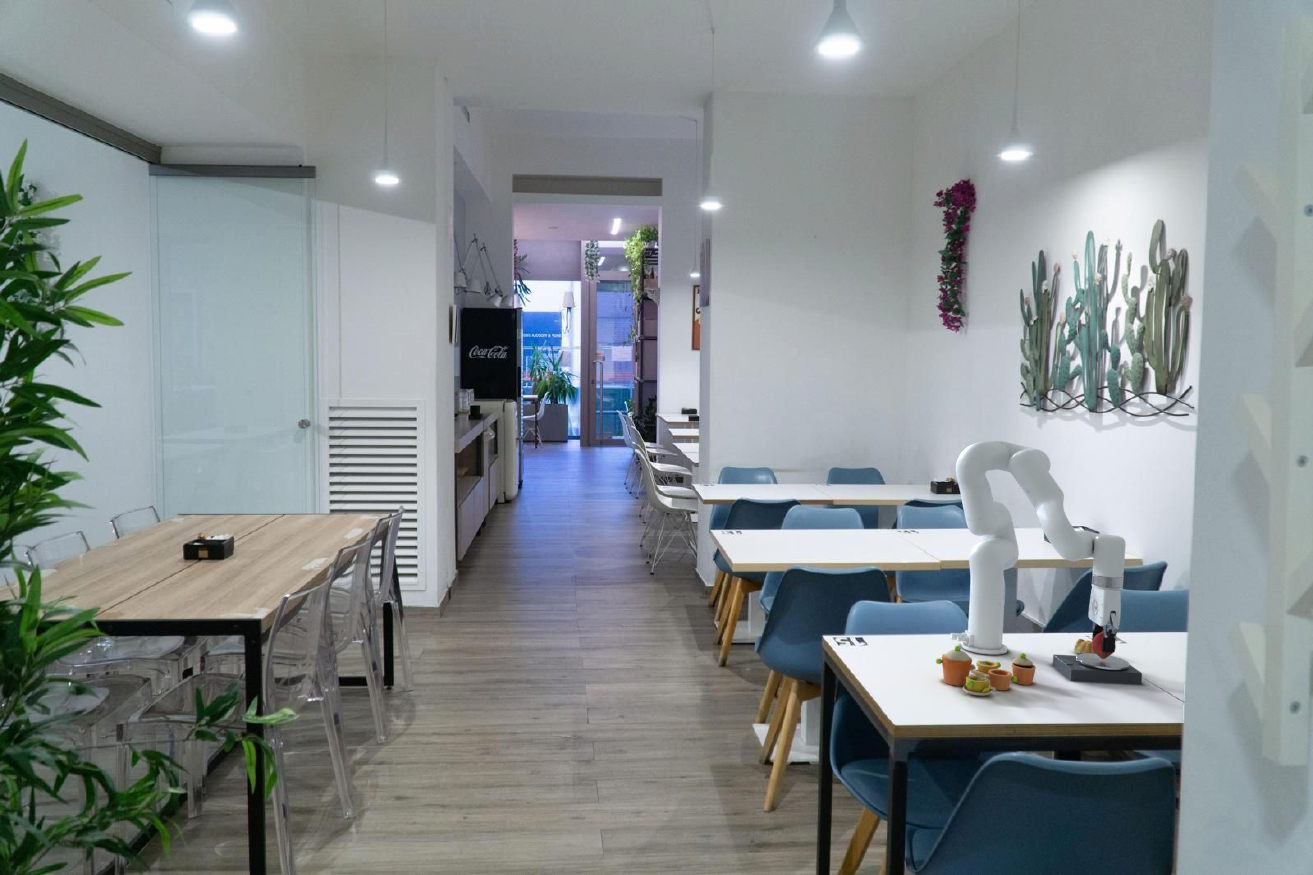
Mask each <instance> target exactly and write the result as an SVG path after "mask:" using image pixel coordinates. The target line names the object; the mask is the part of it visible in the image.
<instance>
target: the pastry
mask: <svg viewBox="0 0 1313 875" xmlns="http://www.w3.org/2000/svg"><path fill="white" fill-rule="evenodd" d="M1073 651H1074V652H1075V653H1076V654H1078V655H1079V654H1086V653H1093V654H1096V653H1095V652H1094V650H1093V648H1092V640H1088V639H1087V640H1085V639H1083V638H1078V639H1077V641H1076V642H1075V644H1074V647H1073Z"/></svg>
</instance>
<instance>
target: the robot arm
mask: <svg viewBox="0 0 1313 875" xmlns="http://www.w3.org/2000/svg"><path fill="white" fill-rule="evenodd" d="M996 470H998V471H1004V472H1008V473H1010V474H1011V475H1012V477H1013V478H1014V480H1015V481H1016V483H1017V484H1018V485H1019V487H1020V489H1022V491H1023V492H1024V494H1025V495H1026V497H1027V498H1028V500H1029V502H1030V503H1031V504H1032V506H1033V508H1034V509H1035V512H1036V517H1037V519H1038V522H1039V525H1040V527H1041V529H1042V532H1043V534H1044V535H1045V537H1046V539H1047V540H1048V541H1049V543H1050V544H1051V546H1052V547H1053V549H1054V550H1055V551H1056V553H1057V554H1058V555H1059V556H1060V557H1061V558H1062V559H1064V560H1066V561H1069V562H1078V561H1082V560H1084V559H1089V558H1091V559H1093V560H1092V575H1091V590H1090V596H1089V605H1088V613H1087V614H1088V616H1087V617H1088V618H1089V620H1090V621H1092V634H1091V636H1092V637H1091V641H1092V640H1093V638H1094V637H1095V636H1096V635H1097V634H1099V633H1101V632H1102V631H1103V630H1104V637H1102V652H1109V653H1113V654H1114V653H1115V651H1116V648H1115V645H1116V642H1117V641H1116V640H1117V634H1118V631H1119V629H1120V623H1121V613H1122V612H1121V610H1122V600H1121V598H1122V596H1121V594H1122V593H1121V591H1122V590H1123V589H1124V573H1125V561H1126V560H1125V559H1126V540H1125V538H1124V537H1122V536H1120V535H1114V534H1102V533H1098V532H1094V531H1090V530H1085V529H1084V530H1083V529H1081V530H1076V529H1075V528H1074V527H1073V525H1072V523H1071V522H1070V520H1069V518H1068V517H1067V515H1066V512H1065V509H1064V501H1065V495H1064V491H1063V489H1062V488H1061V487H1060V485H1058V483H1057V481H1056V480H1055V479H1054V477H1053V476H1052V474H1051V473H1050V470H1051V460H1050V457H1049V456H1048V455H1047V454H1046V453H1045V452H1044V451H1043V450H1040V449H1038V448H1033V447H1030V446H1024V445H1020V444H1016V443H1012V442H1008V441H1004V440H984V441H983V440H982V441H978V442H974V443H972V444H970V445H969V446H967V447H966V448H965V449H963V451H962V452H961V453H960V454H959V455H958V458H957V460H956V463H955V475H956V481H957V484H958V488H959V492H960V498H961V503H962V508H963V512H964V513H963V514H964V518H965V523H966V526H967V529H968V530H969V532H970V533H971V534H973V535H974V536H977V537H983V540H982V541H980V542H978V543H977V544H975V545H974V546H973V547H972V549H971V550H970V553H969V557H968V564H969V573H970V586H969V588H970V589H969V606H968V608H969V610H968V625H967V629H964V632H961V633H957V632H950V640H951V641H957V642H961V648H963V649H964V650H966V651H968V652H972V653H976V654H981V655H993V656H994V655H996V656H997V655H1004V654H1006V653H1007V652H1008V646H1007V645H1006V644H1004V643H1003V634H1004V621H1005V620H1004V619H1005V618H1004V617H1005V601H1006V581H1005V575H1004V573H1005V572H1004V571H1007V570H1009V569H1011V568H1013V567H1014V566H1015V565H1016V564H1017V562H1018V560H1019V555H1020V554H1019V552H1020V551H1019V545H1018V541H1017V535H1016V531H1015V526H1014V522H1013V517H1012V514H1011V512H1010V511H1009V509H1008V507H1007V506H1006V505H1005V504H1004V503H1002V502H1000V501H997V500H994V498H993V494H992V487H991V485H990V482H989V480H988V478H987V475H986V473H987V472H989V471H996Z"/></svg>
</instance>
